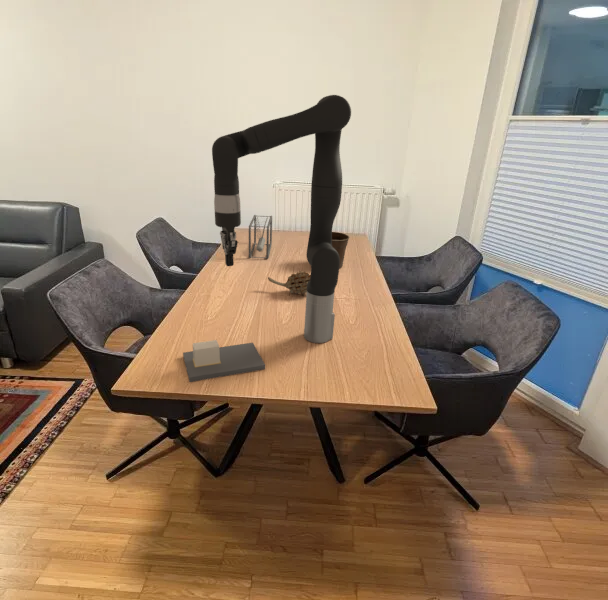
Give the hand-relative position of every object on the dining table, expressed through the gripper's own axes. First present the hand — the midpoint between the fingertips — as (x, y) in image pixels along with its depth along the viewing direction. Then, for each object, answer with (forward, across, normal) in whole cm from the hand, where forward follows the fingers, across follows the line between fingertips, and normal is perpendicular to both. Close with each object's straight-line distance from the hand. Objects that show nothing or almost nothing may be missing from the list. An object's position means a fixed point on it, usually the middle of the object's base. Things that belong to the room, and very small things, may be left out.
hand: (229, 265), depth 128 cm
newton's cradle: (+27, +94, -39) cm, 105 cm away
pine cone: (+27, +33, -34) cm, 54 cm away
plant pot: (+27, +61, -67) cm, 95 cm away
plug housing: (+24, -14, +11) cm, 30 cm away
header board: (+26, -14, +6) cm, 30 cm away
